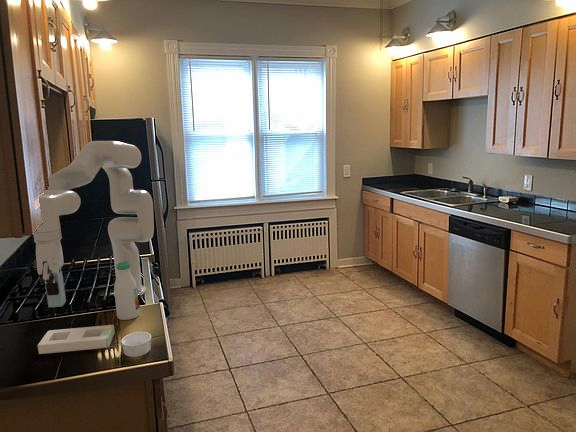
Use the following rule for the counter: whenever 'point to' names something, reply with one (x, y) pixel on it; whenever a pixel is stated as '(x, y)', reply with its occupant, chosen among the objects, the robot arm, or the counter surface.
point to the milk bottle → (126, 293)
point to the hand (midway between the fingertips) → (55, 291)
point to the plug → (60, 298)
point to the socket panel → (76, 339)
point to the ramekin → (136, 344)
